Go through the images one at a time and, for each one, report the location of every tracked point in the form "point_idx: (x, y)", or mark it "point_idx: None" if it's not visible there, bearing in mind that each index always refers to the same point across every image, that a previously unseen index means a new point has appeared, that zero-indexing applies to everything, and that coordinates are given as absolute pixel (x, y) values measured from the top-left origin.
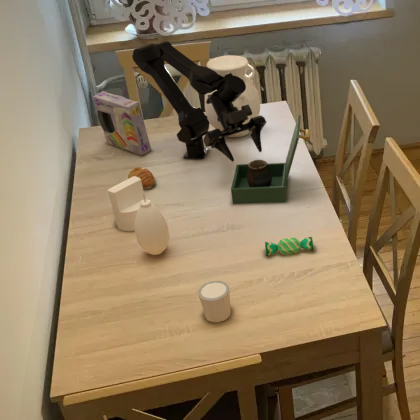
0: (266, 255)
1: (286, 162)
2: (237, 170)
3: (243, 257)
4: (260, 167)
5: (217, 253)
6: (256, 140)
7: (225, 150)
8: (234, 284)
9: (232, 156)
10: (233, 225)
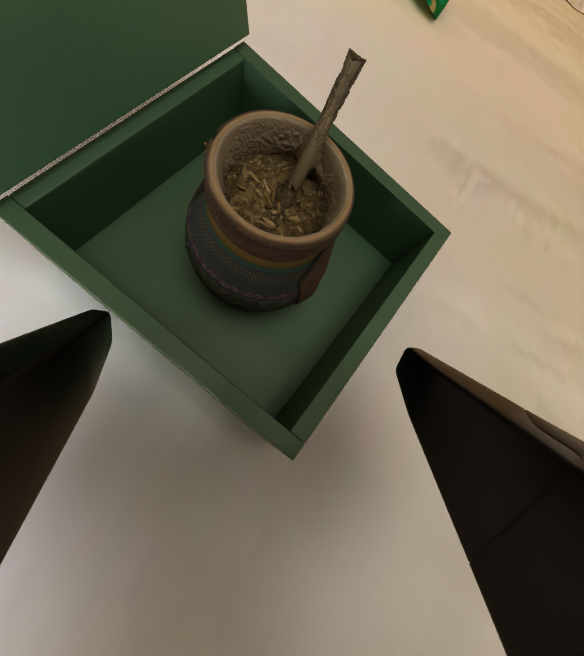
0: (444, 5)
1: (50, 87)
2: (332, 378)
3: (486, 53)
4: (246, 211)
5: (528, 114)
6: (14, 417)
7: (531, 420)
8: (532, 16)
9: (432, 362)
10: (451, 169)
